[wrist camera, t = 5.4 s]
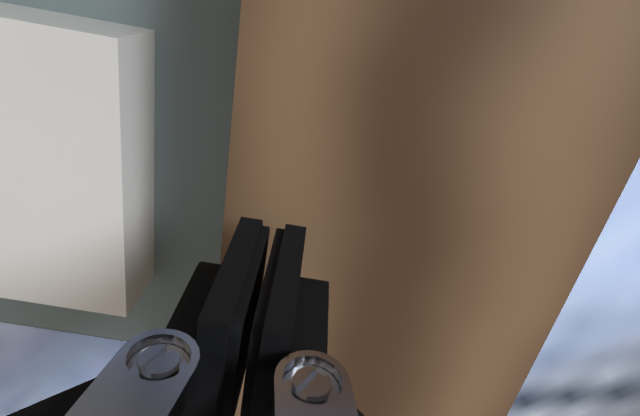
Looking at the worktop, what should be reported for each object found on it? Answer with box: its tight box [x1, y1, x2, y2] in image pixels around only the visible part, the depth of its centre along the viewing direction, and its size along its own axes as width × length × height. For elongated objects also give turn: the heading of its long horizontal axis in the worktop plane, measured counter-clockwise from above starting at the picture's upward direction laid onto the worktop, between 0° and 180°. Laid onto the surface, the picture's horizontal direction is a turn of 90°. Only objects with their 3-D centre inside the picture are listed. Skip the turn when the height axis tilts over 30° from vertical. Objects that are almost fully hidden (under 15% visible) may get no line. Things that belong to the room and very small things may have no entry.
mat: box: [0, 0, 241, 341], centre depth 16 cm, size 12×16×1 cm
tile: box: [0, 2, 155, 317], centre depth 14 cm, size 6×9×2 cm, turn 170°
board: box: [220, 0, 640, 416], centre depth 14 cm, size 10×18×4 cm, turn 170°
